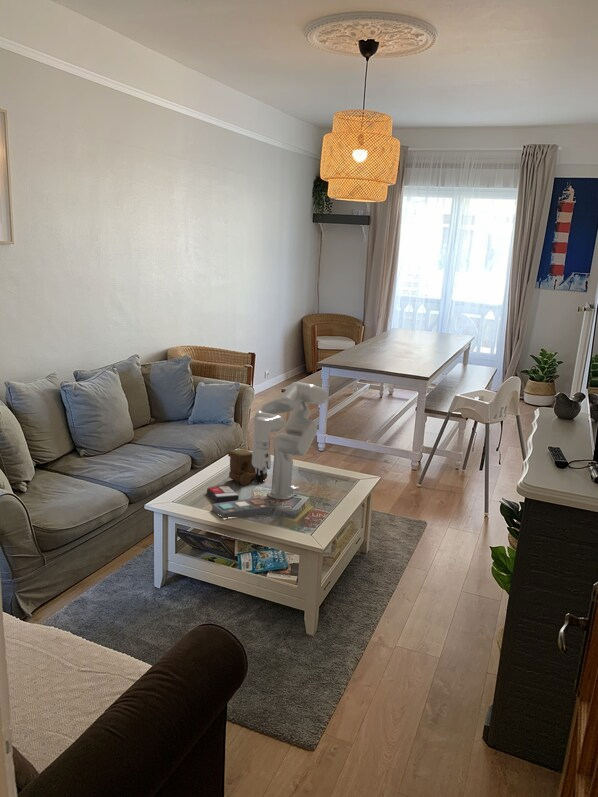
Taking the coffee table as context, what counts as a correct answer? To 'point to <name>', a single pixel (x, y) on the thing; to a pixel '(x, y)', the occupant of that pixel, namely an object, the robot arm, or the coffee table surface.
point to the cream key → (242, 504)
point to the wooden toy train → (242, 466)
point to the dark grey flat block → (242, 509)
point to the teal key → (226, 507)
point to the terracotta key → (257, 502)
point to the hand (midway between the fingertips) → (259, 482)
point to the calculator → (222, 494)
